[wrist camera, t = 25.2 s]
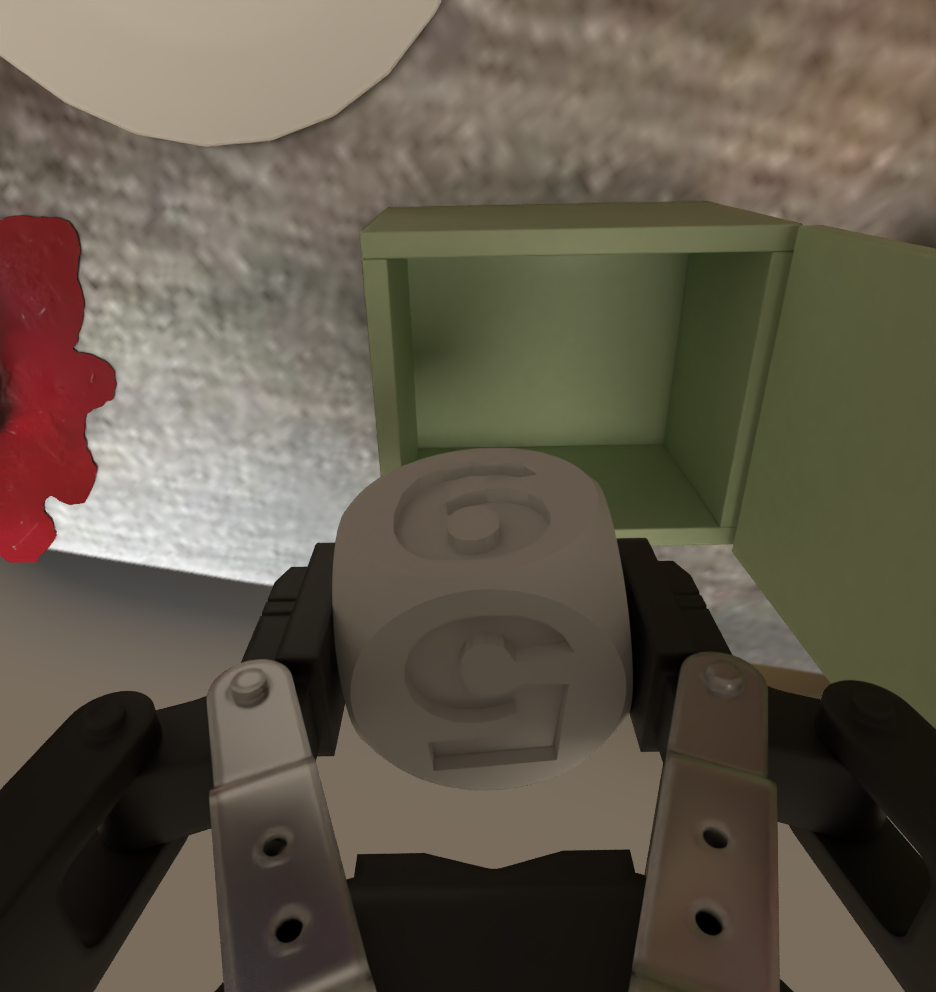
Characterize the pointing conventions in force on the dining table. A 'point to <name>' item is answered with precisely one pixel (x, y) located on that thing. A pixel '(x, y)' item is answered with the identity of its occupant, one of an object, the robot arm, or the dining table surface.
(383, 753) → the die
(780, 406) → the lid
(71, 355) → the red splat with dinosaur
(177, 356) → the dining table surface
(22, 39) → the plate
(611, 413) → the chest
